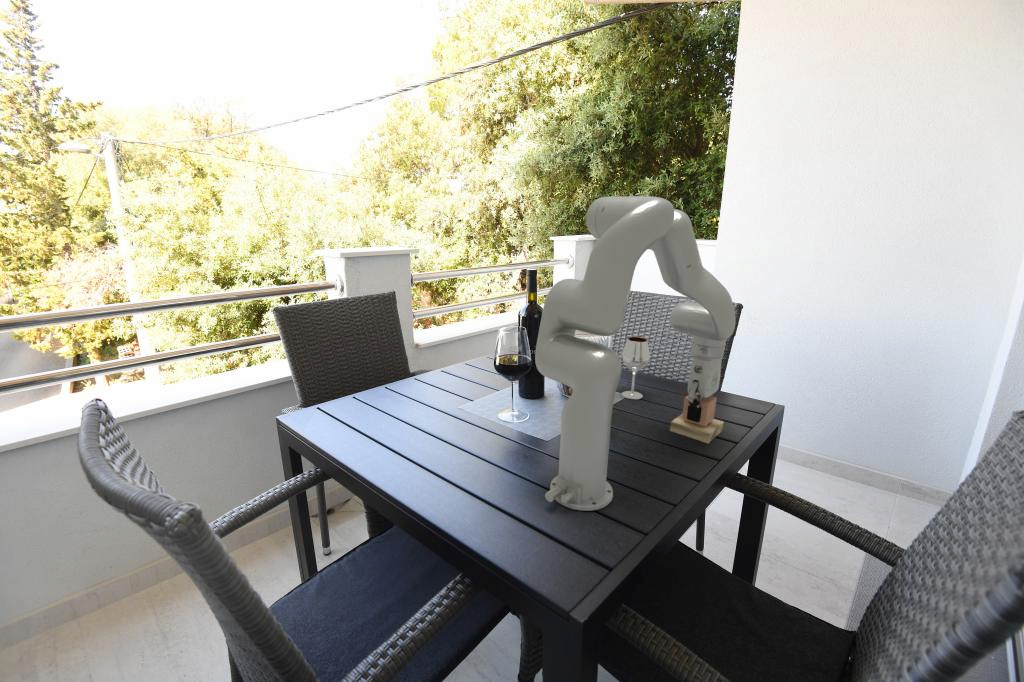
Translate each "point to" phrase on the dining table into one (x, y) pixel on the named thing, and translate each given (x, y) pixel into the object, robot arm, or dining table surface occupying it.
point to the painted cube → (702, 410)
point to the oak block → (697, 429)
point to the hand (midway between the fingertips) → (698, 416)
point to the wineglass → (635, 361)
